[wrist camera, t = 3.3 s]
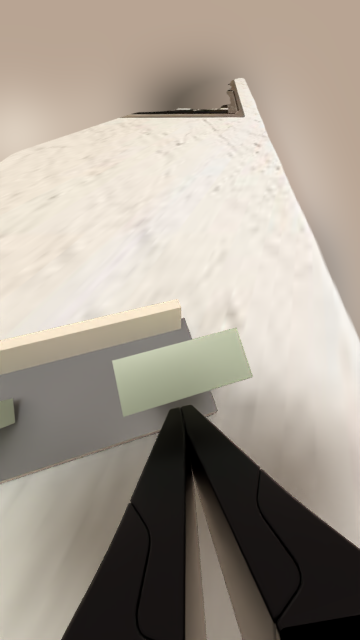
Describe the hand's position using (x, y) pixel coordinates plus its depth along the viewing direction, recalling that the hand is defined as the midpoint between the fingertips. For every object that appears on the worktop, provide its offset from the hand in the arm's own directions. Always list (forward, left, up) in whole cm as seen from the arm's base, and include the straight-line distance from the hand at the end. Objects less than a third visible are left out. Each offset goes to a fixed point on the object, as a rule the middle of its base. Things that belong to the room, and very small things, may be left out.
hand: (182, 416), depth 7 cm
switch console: (-2, +7, -9) cm, 12 cm away
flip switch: (+3, +3, -7) cm, 8 cm away
